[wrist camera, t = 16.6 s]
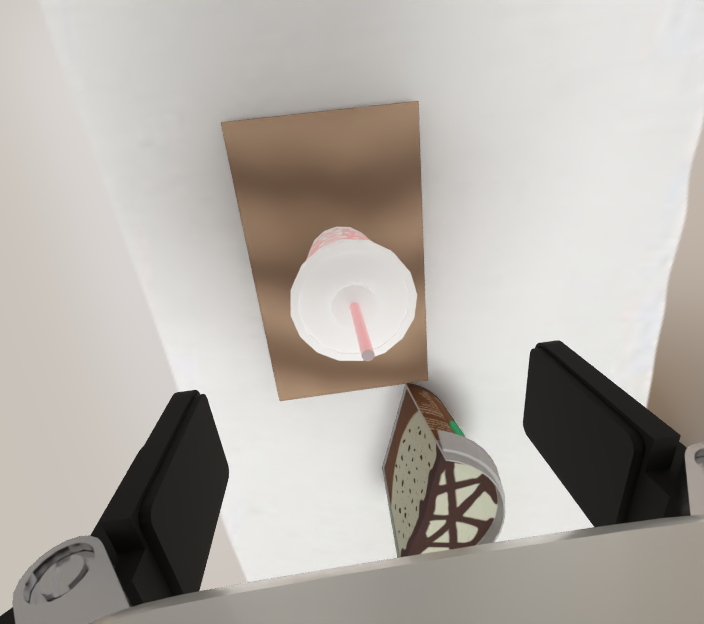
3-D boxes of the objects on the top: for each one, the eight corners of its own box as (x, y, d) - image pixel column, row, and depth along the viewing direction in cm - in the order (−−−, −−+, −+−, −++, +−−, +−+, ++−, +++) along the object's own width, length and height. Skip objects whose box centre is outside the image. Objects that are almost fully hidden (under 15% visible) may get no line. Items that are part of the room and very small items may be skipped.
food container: (439, 484, 37) (480, 592, 28) (378, 479, 36) (400, 589, 27) (477, 376, 33) (541, 461, 24) (409, 367, 32) (448, 452, 23)
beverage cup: (380, 208, 25) (449, 258, 12) (389, 293, 28) (455, 411, 15) (289, 222, 25) (262, 288, 12) (306, 307, 27) (299, 438, 15)
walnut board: (226, 124, 24) (220, 122, 23) (412, 104, 25) (418, 101, 23) (281, 390, 32) (279, 401, 30) (423, 370, 32) (427, 380, 31)
